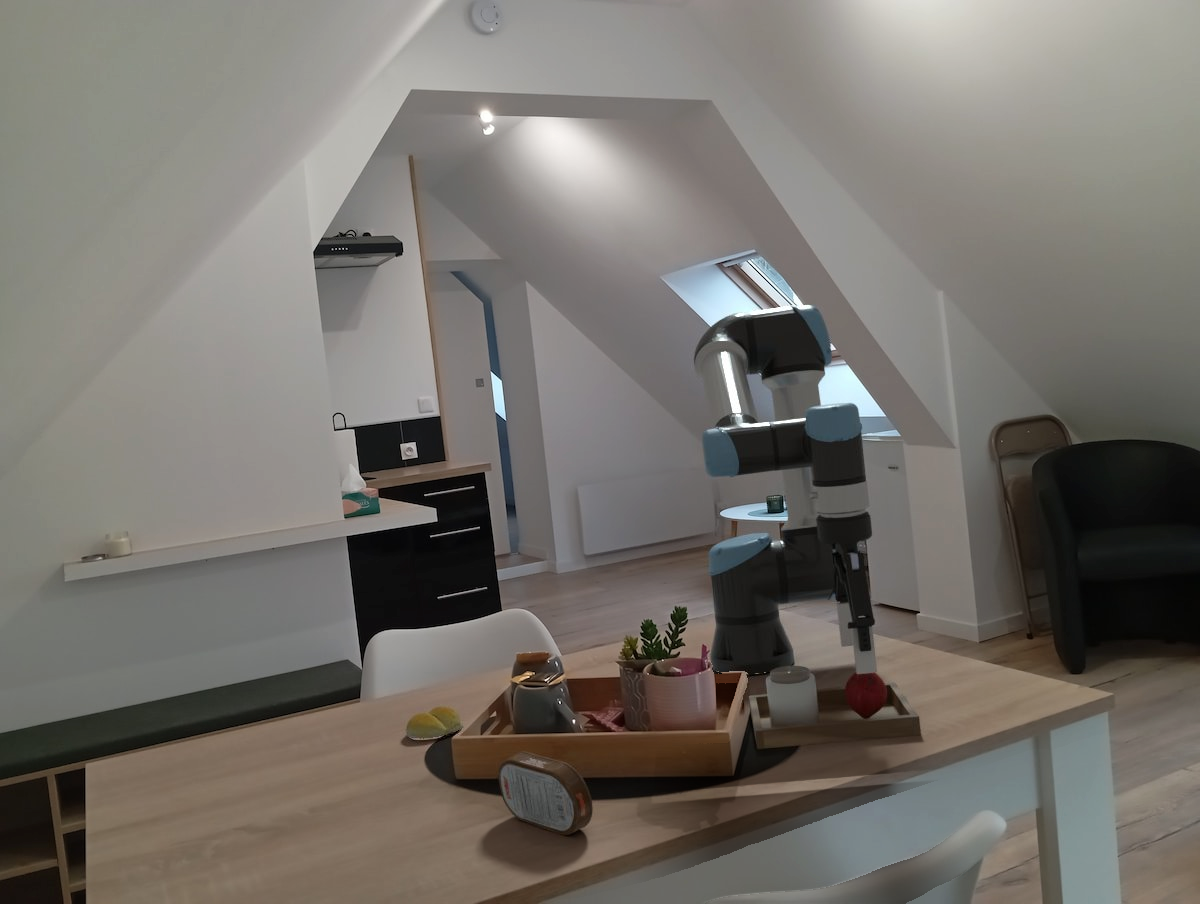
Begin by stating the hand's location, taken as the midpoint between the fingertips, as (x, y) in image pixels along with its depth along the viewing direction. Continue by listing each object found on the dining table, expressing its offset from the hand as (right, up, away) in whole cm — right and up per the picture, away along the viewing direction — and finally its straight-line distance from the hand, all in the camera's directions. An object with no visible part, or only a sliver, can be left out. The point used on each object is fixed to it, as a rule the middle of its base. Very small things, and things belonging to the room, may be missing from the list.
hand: (858, 658), depth 143 cm
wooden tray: (-4, -10, 0) cm, 11 cm away
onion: (+1, -9, 0) cm, 9 cm away
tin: (-44, -16, -21) cm, 51 cm away
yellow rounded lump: (-64, -17, +22) cm, 70 cm away
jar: (-9, -10, +1) cm, 13 cm away
